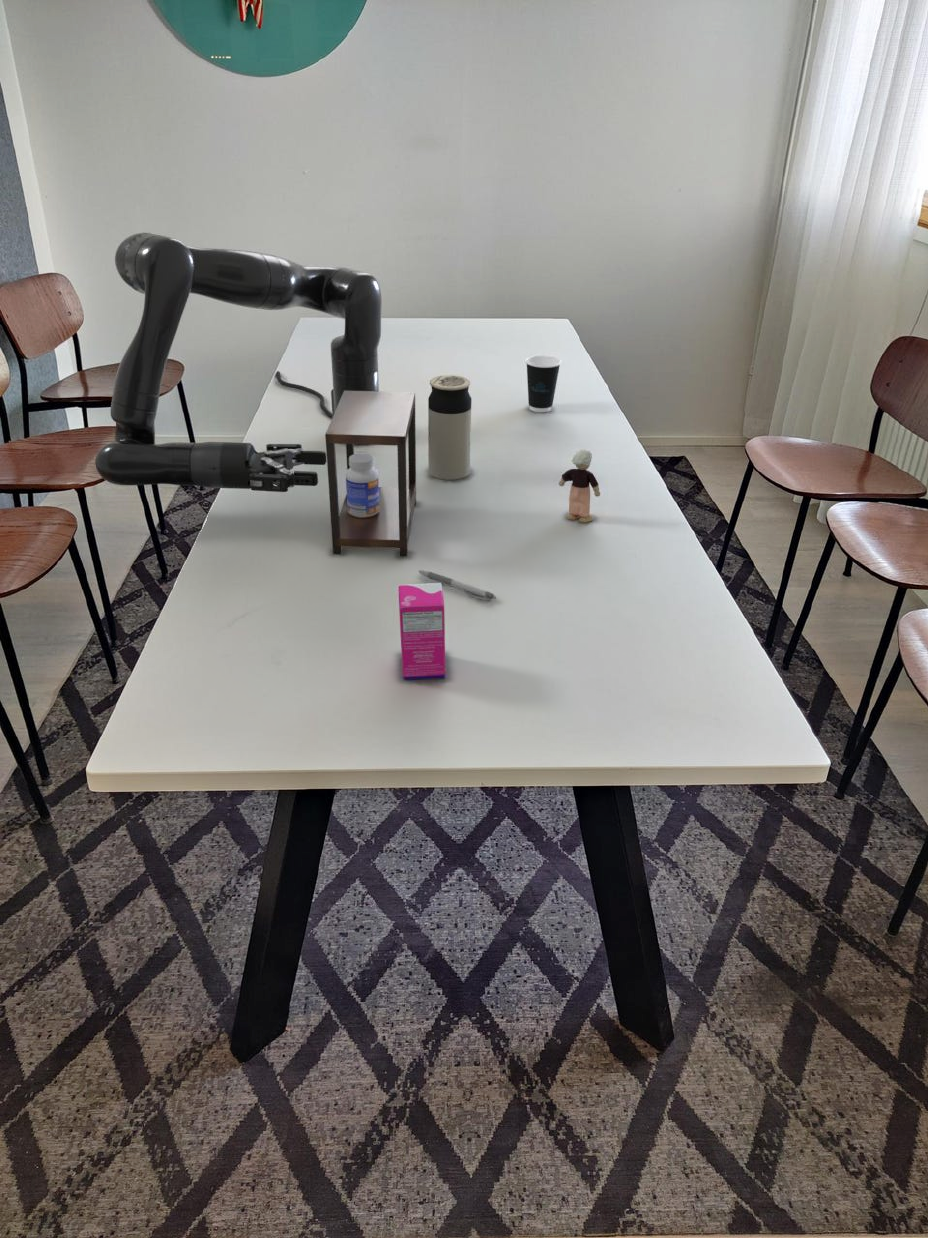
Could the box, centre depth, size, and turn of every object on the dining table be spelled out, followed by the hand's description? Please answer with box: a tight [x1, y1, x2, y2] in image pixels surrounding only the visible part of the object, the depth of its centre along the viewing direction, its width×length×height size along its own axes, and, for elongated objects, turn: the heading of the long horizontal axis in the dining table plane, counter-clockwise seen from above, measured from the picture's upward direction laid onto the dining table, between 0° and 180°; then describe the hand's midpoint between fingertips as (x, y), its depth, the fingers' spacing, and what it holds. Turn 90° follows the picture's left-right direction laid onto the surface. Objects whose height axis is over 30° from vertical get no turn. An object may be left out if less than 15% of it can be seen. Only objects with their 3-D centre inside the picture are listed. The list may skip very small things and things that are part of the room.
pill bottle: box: [345, 452, 380, 518], centre depth 151 cm, size 5×5×10 cm
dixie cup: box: [524, 355, 562, 413], centre depth 204 cm, size 8×8×11 cm
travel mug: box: [427, 374, 472, 481], centre depth 171 cm, size 8×8×18 cm
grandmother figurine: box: [558, 448, 601, 524], centre depth 157 cm, size 8×4×13 cm, turn 71°
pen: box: [418, 569, 497, 601], centre depth 139 cm, size 1×14×1 cm, turn 57°
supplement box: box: [398, 582, 447, 681], centre depth 119 cm, size 6×6×12 cm
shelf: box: [324, 390, 417, 558], centre depth 150 cm, size 12×20×20 cm, turn 178°
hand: (321, 468), depth 150 cm, fingers open, 8 cm apart
